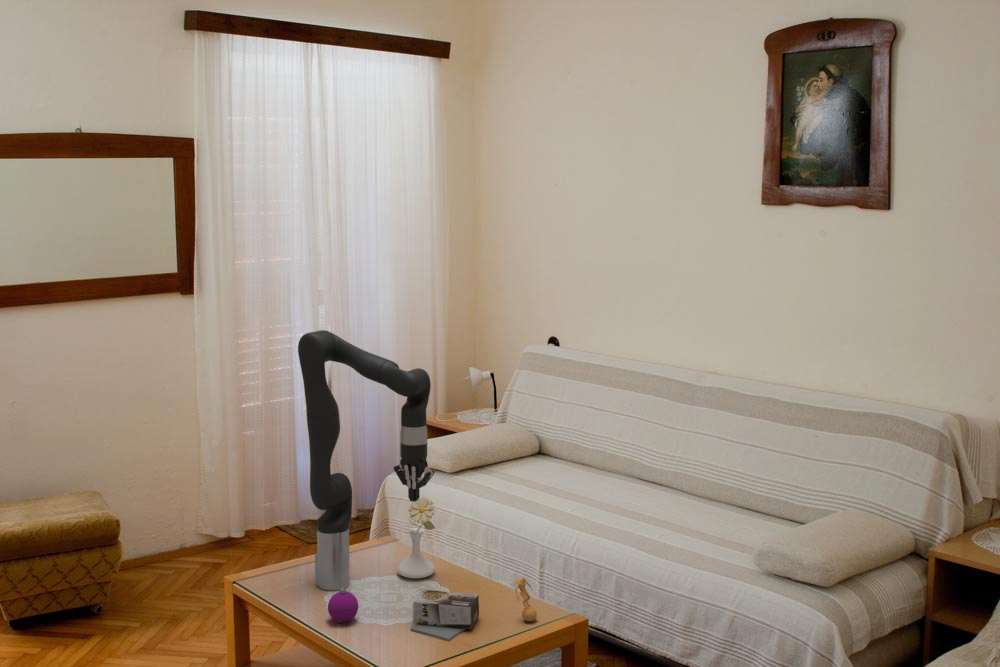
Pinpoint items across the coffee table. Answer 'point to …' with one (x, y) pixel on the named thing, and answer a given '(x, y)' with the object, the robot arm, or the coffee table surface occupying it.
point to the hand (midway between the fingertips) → (414, 500)
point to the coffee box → (446, 609)
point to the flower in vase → (418, 540)
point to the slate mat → (437, 631)
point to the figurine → (529, 611)
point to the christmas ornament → (343, 606)
